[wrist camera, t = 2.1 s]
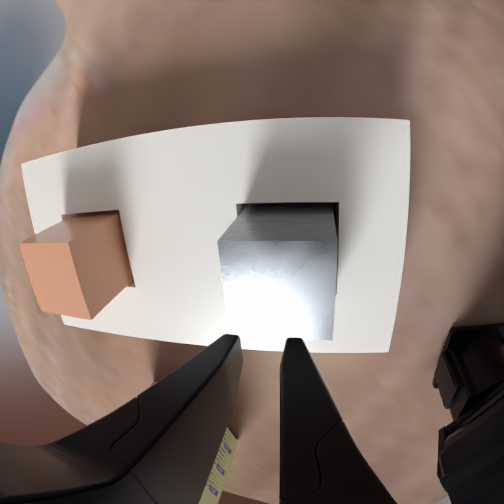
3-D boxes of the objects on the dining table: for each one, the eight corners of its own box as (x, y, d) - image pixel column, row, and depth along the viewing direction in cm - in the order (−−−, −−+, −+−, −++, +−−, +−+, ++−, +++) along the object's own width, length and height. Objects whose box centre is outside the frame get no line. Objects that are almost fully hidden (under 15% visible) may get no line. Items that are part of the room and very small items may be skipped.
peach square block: (129, 207, 17) (68, 242, 12) (142, 271, 19) (91, 320, 14) (80, 211, 18) (19, 243, 13) (93, 269, 20) (41, 310, 15)
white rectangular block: (382, 120, 17) (409, 120, 11) (374, 297, 21) (388, 352, 16) (76, 150, 21) (21, 163, 16) (105, 287, 26) (64, 324, 20)
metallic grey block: (331, 201, 15) (337, 241, 10) (330, 275, 17) (332, 340, 12) (249, 201, 16) (217, 241, 11) (255, 274, 17) (229, 336, 12)
